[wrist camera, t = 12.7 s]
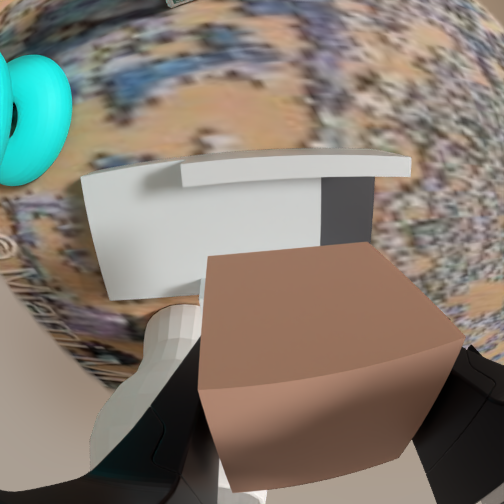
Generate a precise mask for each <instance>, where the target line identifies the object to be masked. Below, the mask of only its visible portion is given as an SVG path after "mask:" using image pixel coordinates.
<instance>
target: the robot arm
mask: <svg viewBox="0 0 504 504" xmlns="http://www.w3.org/2000/svg"><path fill="white" fill-rule="evenodd" d="M449 320H450V319H449ZM450 321H451V320H450ZM200 342H201V336H200V337H199V339H198V340H197V341H196V343H195V344H194V346H193V347H192V348H191V350H190V351H189V353H188V354H187V355H186V357H185V358H184V359H183V361H182V362H181V364H180V365H179V366H178V368H177V369H176V370H175V372H174V373H173V375H172V376H171V377H170V379H169V380H168V381H167V383H166V384H165V386H164V387H163V388H162V390H161V391H160V392H159V394H158V395H157V397H156V398H155V399H154V401H153V402H152V403H151V405H150V406H151V407H148V409H147V410H146V411H145V413H144V414H143V415H142V417H141V418H140V419H139V421H138V422H137V423H136V424H135V426H134V427H133V428H132V429H131V430H130V431H129V433H128V434H127V435H126V436H125V437H124V438H123V439H122V440H121V441H120V442H119V443H118V444H117V445H116V446H115V447H114V448H113V449H112V451H111V452H110V453H109V454H108V455H107V456H106V457H105V458H104V459H103V460H102V461H101V462H100V463H99V464H98V465H97V466H96V467H95V468H93V469H92V470H91V471H90V472H88V473H87V474H86V475H84V476H82V477H80V478H77V479H74V480H71V481H67V482H63V483H59V484H55V485H50V486H45V487H41V488H36V489H31V490H25V491H17V492H10V491H9V492H8V491H2V490H0V504H217V500H218V479H219V459H220V458H219V455H218V452H217V449H216V446H215V444H214V441H213V438H212V435H211V432H210V428H209V425H208V422H207V419H206V416H205V413H204V409H203V406H202V403H201V399H200V396H199V393H198V375H199V358H200ZM412 440H413V443H414V446H415V448H416V450H417V453H418V455H419V458H420V460H421V463H422V465H423V468H424V470H425V473H426V476H427V478H428V481H429V484H430V486H431V489H432V491H433V494H434V497H435V500H436V502H437V504H476V503H478V502H479V501H480V500H481V502H482V504H504V365H501V364H498V363H496V362H494V361H491V360H489V359H486V358H484V357H483V356H482V355H481V354H480V353H479V352H478V351H477V350H476V349H475V348H474V347H473V346H472V344H471V345H470V346H469V347H468V349H467V350H466V349H465V348H463V347H462V348H461V350H460V352H459V354H458V357H457V359H456V361H455V363H454V365H453V367H452V370H451V372H450V374H449V376H448V378H447V380H446V382H445V384H444V386H443V387H442V389H441V391H440V393H439V395H438V397H437V399H436V400H435V402H434V404H433V406H432V407H431V409H430V411H429V413H428V414H427V416H426V418H425V419H424V421H423V423H422V424H421V426H420V427H419V429H418V430H417V432H416V434H415V435H414V437H413V438H412Z"/></svg>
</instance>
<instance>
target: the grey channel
mask: <svg viewBox="0 0 504 504" xmlns="http://www.w3.org/2000/svg"><path fill="white" fill-rule="evenodd" d="M375 176H384V177H411V157H408V156H404V155H400V154H395V153H391V152H386V151H381V150H376V149H362V148H291V149H267V150H249V151H235V152H223V153H212V154H202V155H193V156H184V157H176V158H169V159H161V160H154V161H148V162H141V163H135V164H129V165H123V166H118V167H112V168H107V169H102V170H97V171H93V172H91V173H89V174H86V175H84V176H81V177H80V178H81V184H82V190H83V195H84V201H85V206H86V211H87V216H88V220H89V225H90V230H91V234H92V238H93V242H94V246H95V250H96V254H97V258H98V262H99V265H100V269H101V273H102V276H103V280H104V283H105V286H106V290H107V293H108V296H109V299H110V301H113V300H131V299H147V298H162V297H175V296H188V295H199V302H200V308H201V314H202V315H203V302H204V291H205V279H206V269H207V258H208V256H215V255H226V254H237V253H248V252H259V251H270V250H281V249H292V248H303V247H314V246H325V245H336V244H348V243H359V242H368V243H370V242H371V231H372V218H373V203H374V182H375Z"/></svg>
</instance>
